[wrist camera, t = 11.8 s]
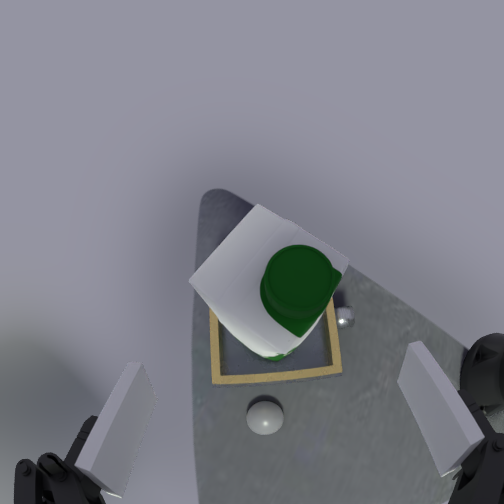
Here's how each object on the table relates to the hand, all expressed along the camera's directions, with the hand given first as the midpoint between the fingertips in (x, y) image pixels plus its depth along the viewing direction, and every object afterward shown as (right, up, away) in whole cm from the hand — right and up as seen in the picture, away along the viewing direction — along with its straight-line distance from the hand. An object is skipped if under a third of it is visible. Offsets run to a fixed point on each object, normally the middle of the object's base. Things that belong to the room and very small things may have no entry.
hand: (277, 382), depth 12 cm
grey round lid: (+1, -17, +21) cm, 27 cm away
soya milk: (+1, -3, +22) cm, 22 cm away
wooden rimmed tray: (+3, -5, +27) cm, 27 cm away
